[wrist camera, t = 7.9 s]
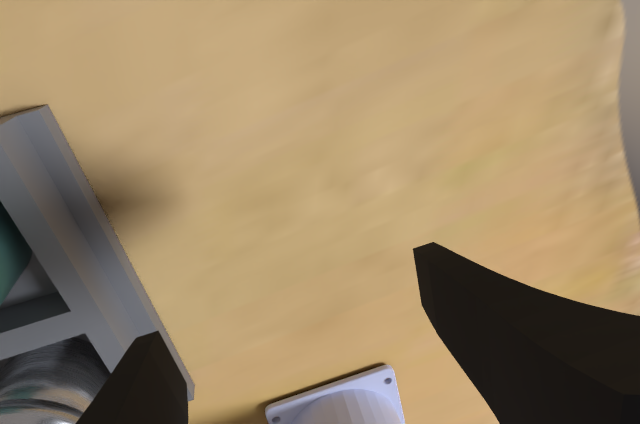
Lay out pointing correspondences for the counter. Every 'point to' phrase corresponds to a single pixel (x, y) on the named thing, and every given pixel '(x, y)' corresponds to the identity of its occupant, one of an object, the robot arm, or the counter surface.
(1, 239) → the teal cylinder
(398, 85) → the counter surface
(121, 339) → the housing
